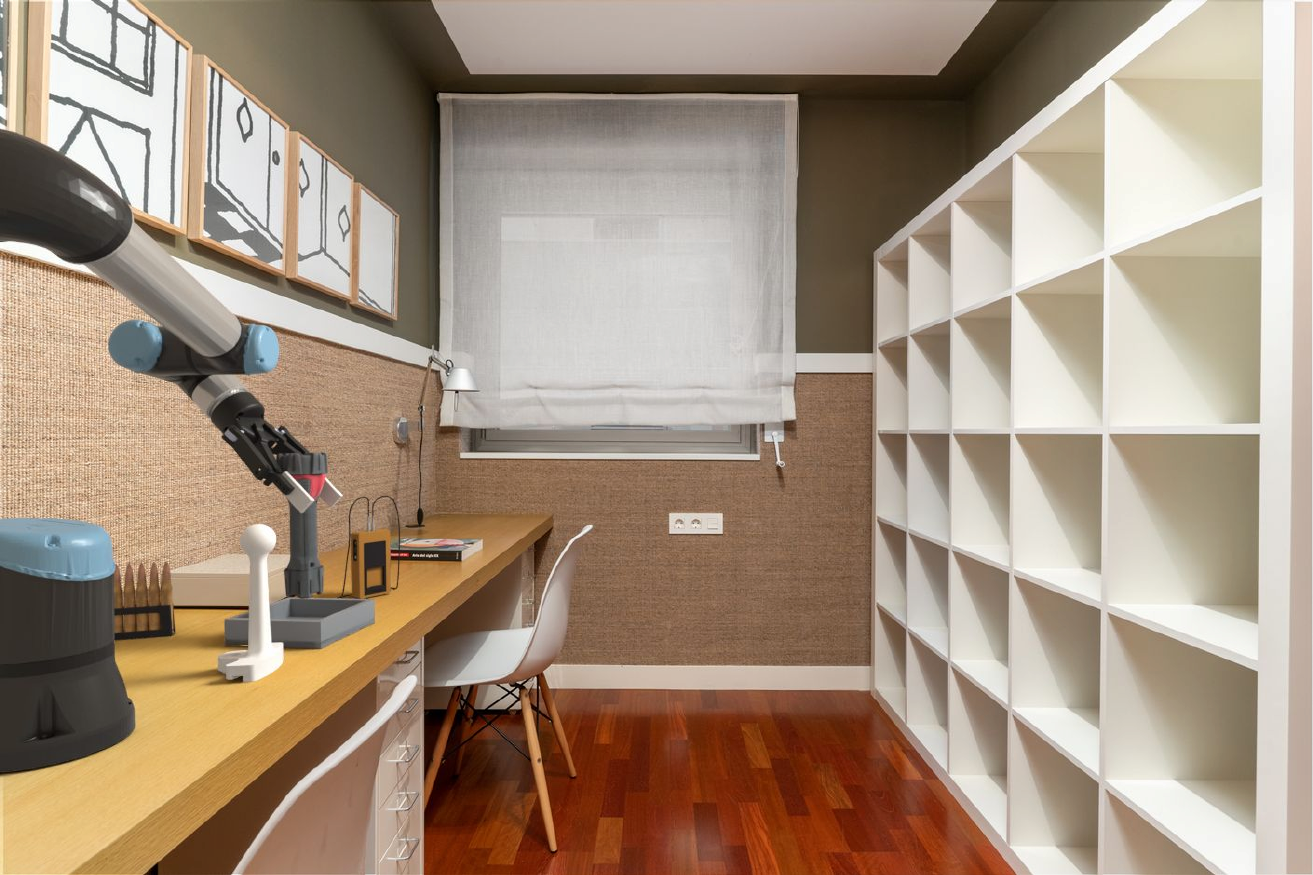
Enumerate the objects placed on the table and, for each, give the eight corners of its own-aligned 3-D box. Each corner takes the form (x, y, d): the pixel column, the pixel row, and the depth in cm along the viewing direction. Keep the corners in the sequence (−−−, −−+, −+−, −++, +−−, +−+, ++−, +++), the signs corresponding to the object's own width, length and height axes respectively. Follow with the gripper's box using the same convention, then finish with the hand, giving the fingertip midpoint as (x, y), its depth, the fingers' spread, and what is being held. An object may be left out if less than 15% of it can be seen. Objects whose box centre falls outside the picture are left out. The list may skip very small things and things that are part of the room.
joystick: (261, 681, 102) (259, 528, 102) (200, 684, 101) (197, 530, 101) (291, 657, 113) (289, 519, 113) (236, 659, 112) (233, 520, 112)
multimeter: (377, 585, 166) (375, 491, 166) (406, 590, 160) (405, 493, 160) (312, 598, 154) (310, 497, 154) (341, 604, 148) (340, 499, 148)
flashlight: (304, 586, 132) (302, 451, 132) (340, 589, 129) (338, 451, 129) (266, 596, 125) (263, 453, 125) (303, 600, 122) (301, 453, 122)
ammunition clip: (175, 633, 128) (174, 560, 128) (172, 636, 126) (171, 562, 126) (99, 639, 125) (98, 564, 125) (95, 642, 123) (93, 566, 123)
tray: (321, 648, 118) (320, 621, 118) (224, 645, 120) (224, 619, 120) (374, 622, 133) (374, 599, 133) (288, 620, 136) (288, 597, 136)
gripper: (256, 422, 139) (342, 513, 137) (168, 421, 119) (267, 528, 117) (283, 392, 138) (369, 483, 136) (199, 386, 118) (299, 493, 116)
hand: (322, 504), depth 126 cm, fingers closed on flashlight, 7 cm apart
